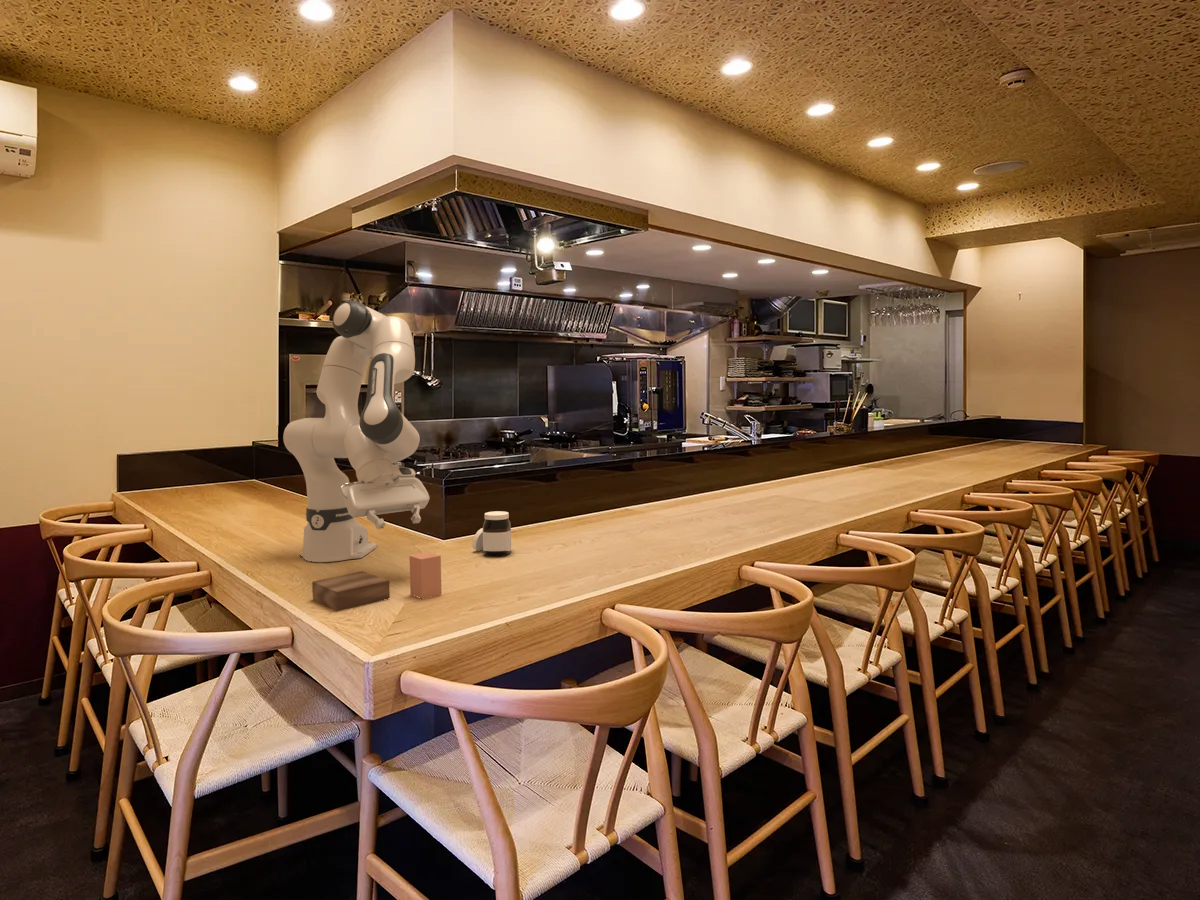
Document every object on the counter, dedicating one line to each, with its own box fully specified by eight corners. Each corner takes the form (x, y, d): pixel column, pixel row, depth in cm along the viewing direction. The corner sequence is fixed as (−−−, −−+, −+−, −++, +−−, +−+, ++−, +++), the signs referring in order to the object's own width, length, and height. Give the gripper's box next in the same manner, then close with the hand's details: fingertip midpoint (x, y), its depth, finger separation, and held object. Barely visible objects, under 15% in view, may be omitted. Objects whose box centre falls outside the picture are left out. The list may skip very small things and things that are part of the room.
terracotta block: (410, 594, 157) (409, 555, 156) (429, 590, 160) (428, 552, 160) (421, 599, 153) (420, 559, 153) (441, 594, 157) (440, 555, 156)
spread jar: (508, 557, 192) (507, 516, 191) (467, 557, 192) (466, 516, 191) (514, 548, 204) (513, 509, 203) (476, 548, 204) (475, 509, 203)
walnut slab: (312, 601, 154) (312, 581, 153) (363, 590, 162) (362, 571, 162) (337, 612, 145) (337, 592, 145) (389, 600, 154) (389, 580, 154)
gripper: (341, 475, 161) (362, 522, 155) (419, 468, 176) (441, 511, 170) (333, 492, 165) (354, 538, 159) (410, 484, 179) (432, 526, 173)
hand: (399, 524), depth 164 cm, fingers open, 8 cm apart
